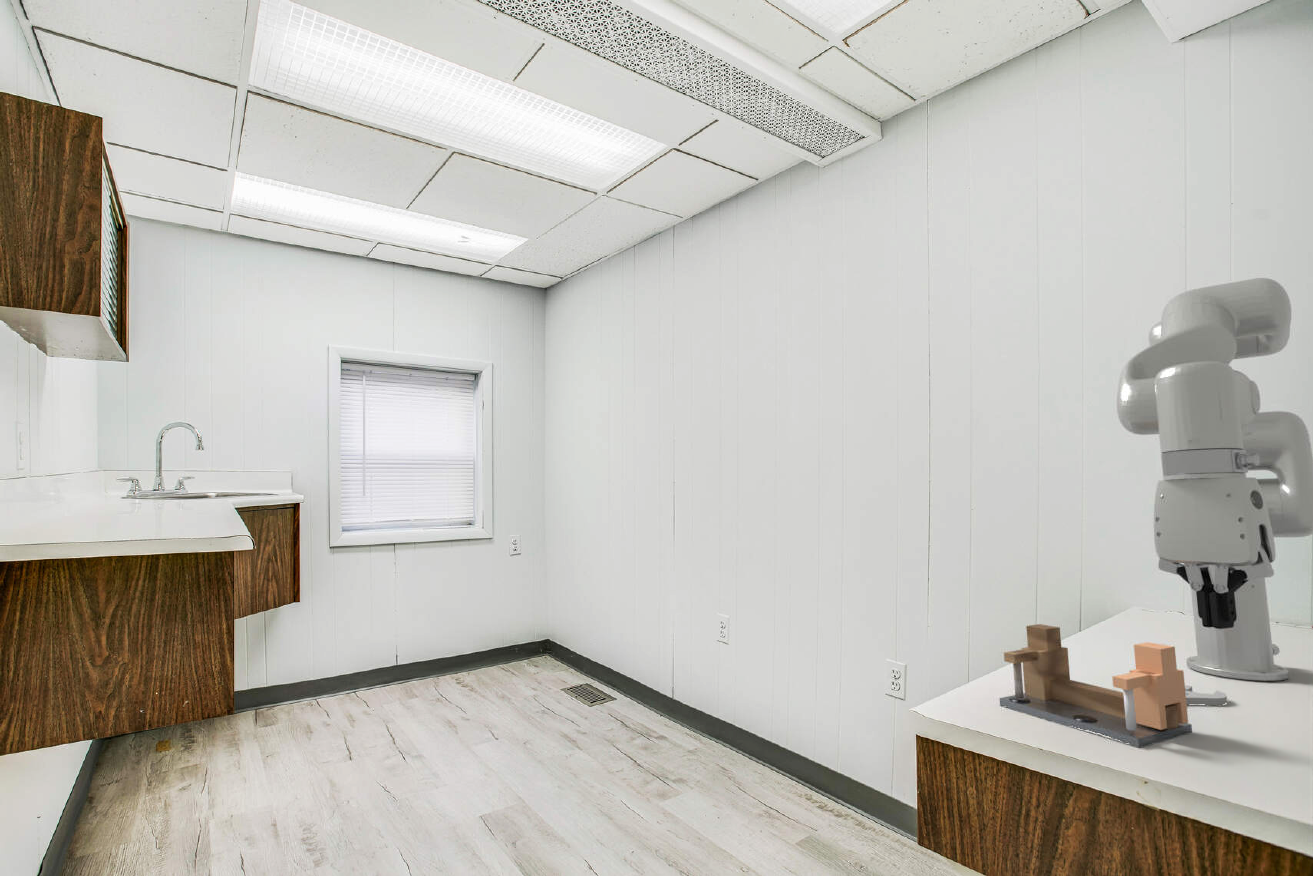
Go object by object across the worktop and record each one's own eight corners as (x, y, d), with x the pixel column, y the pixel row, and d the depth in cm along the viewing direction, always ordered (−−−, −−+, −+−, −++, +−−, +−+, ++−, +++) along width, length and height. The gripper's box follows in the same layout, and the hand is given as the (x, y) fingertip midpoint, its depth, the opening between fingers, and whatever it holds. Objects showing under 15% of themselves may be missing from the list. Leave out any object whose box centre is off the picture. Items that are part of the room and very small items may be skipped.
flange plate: (1051, 695, 96) (1050, 687, 96) (1192, 732, 80) (1191, 723, 80) (999, 705, 92) (999, 697, 92) (1138, 747, 75) (1137, 738, 76)
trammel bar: (1049, 688, 96) (1044, 623, 97) (1186, 724, 80) (1178, 645, 81) (1001, 698, 92) (996, 629, 93) (1135, 738, 76) (1128, 654, 77)
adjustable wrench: (1087, 725, 85) (1086, 711, 86) (1048, 709, 92) (1047, 696, 92) (1237, 708, 91) (1235, 695, 91) (1190, 694, 97) (1189, 682, 97)
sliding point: (1160, 715, 83) (1154, 641, 84) (1188, 722, 80) (1180, 645, 81) (1110, 728, 78) (1104, 649, 79) (1137, 736, 76) (1130, 654, 76)
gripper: (1301, 464, 72) (1321, 635, 69) (1151, 472, 85) (1164, 616, 83) (1265, 461, 68) (1285, 641, 66) (1116, 470, 82) (1128, 620, 80)
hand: (1218, 626), depth 75 cm, fingers closed
